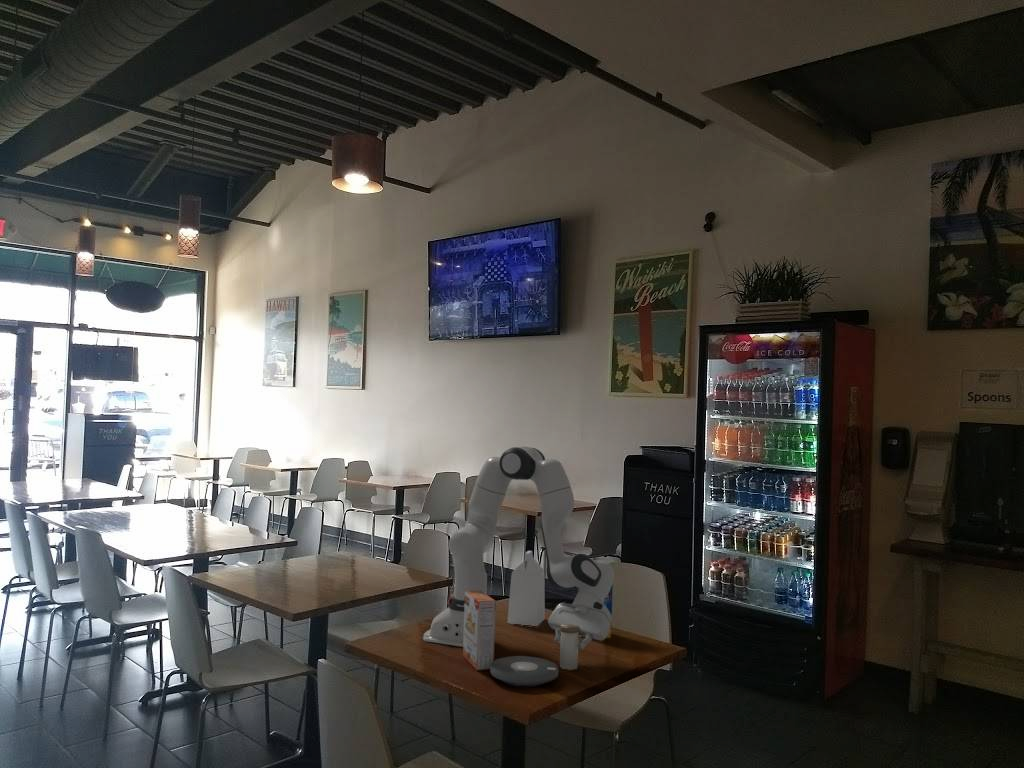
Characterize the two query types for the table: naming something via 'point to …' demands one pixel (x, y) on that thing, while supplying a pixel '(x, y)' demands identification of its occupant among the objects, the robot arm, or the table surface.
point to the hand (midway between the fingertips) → (568, 644)
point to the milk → (527, 593)
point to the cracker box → (479, 629)
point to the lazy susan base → (522, 684)
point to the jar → (569, 646)
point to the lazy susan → (524, 670)
